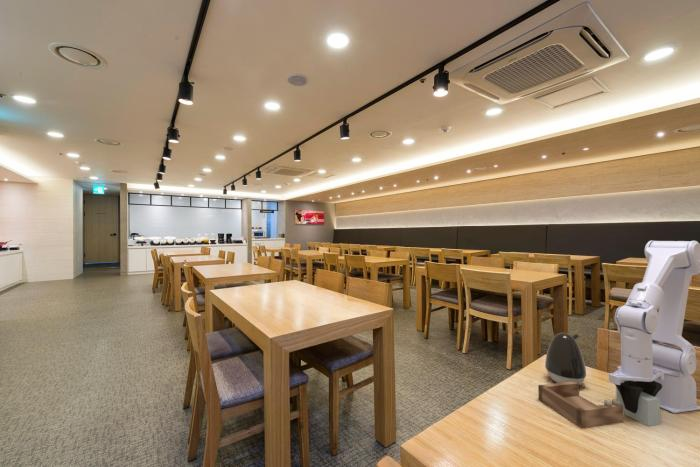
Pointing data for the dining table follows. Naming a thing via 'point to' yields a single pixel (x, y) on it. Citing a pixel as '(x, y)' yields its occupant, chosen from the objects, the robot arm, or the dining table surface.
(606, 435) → the dining table surface
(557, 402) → the wooden rimmed tray
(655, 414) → the grey block
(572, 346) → the dark egg-shaped dome
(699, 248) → the robot arm
